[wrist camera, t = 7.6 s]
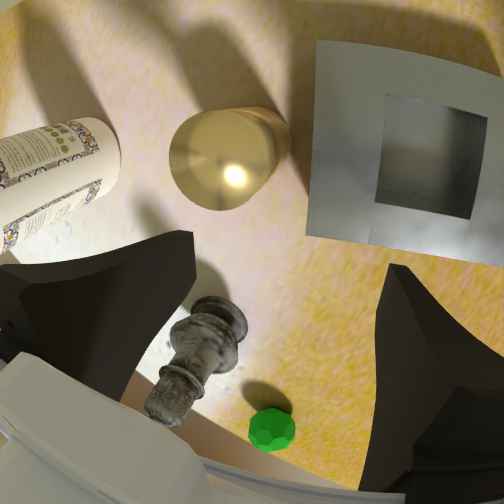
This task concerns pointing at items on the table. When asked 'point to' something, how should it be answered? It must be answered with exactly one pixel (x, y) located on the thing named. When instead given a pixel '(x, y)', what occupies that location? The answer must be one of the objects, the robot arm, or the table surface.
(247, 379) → the table surface
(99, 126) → the bath foam
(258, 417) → the polyhedron
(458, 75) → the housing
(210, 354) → the grey chess piece
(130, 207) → the table surface
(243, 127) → the plug
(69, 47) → the table surface
